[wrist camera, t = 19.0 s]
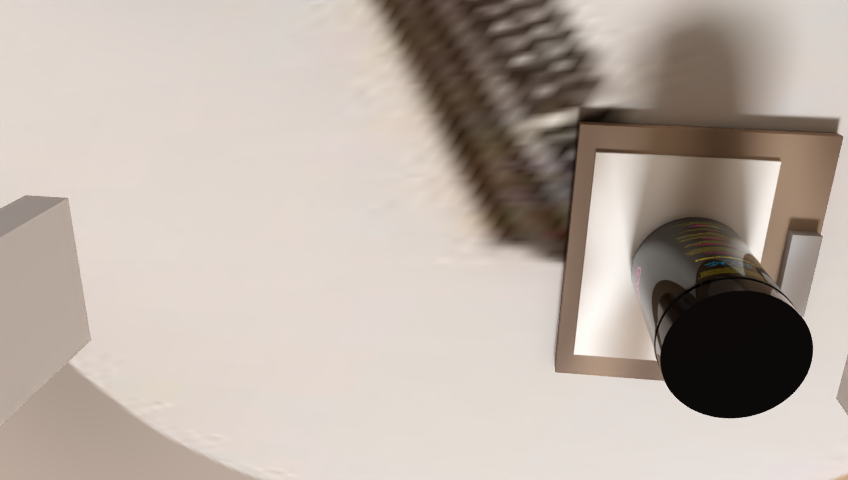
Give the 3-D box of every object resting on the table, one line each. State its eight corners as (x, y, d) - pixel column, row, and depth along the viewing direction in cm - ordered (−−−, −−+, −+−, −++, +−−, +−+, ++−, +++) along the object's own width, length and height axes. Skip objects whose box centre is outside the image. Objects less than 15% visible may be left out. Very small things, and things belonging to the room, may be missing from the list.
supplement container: (617, 227, 44) (646, 308, 34) (737, 198, 42) (803, 274, 33) (640, 327, 46) (674, 430, 36) (755, 303, 45) (822, 403, 35)
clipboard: (554, 365, 49) (555, 378, 47) (579, 121, 43) (581, 127, 41) (779, 382, 47) (788, 397, 46) (837, 133, 42) (849, 140, 40)
